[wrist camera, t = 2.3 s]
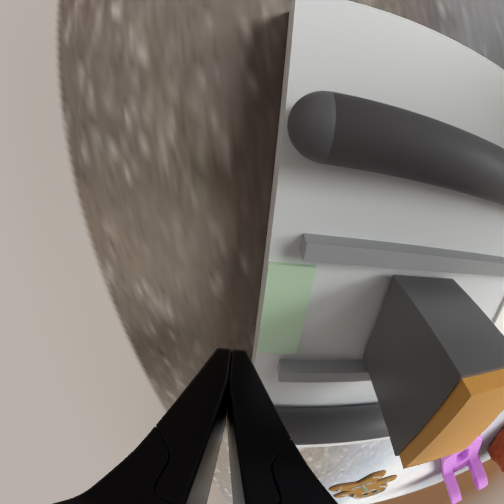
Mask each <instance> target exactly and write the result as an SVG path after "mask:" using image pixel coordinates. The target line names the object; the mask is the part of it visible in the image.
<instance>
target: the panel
mask: <svg viewBox="0 0 504 504" xmlns="http://www.w3.org/2000/svg"><path fill="white" fill-rule="evenodd" d="M393 275H404V276H419V277H434V278H450V279H453V280H454V281H455V282H456V283H457V284H458V285H459V286H460V287H461V288H462V289H463V290H464V291H465V292H466V293H467V294H468V295H469V296H470V297H471V299H472V300H473V301H474V302H475V303H476V304H477V305H478V306H479V307H480V309H481V310H482V311H483V312H484V313H485V314H486V315H487V317H488V318H489V319H490V320H491V321H492V322H493V324H494V325H495V326H496V327H497V328H498V330H499V331H500V332H501V333H502V334H504V69H502V68H501V67H499V66H498V65H496V64H495V63H493V62H492V61H490V60H488V59H487V58H485V57H484V56H482V55H480V54H478V53H477V52H475V51H473V50H471V49H470V48H468V47H466V46H464V45H462V44H461V43H459V42H457V41H455V40H453V39H451V38H449V37H447V36H445V35H443V34H440V33H438V32H436V31H434V30H432V29H430V28H427V27H425V26H423V25H420V24H418V23H415V22H413V21H410V20H408V19H405V18H403V17H400V16H397V15H394V14H391V13H388V12H385V11H382V10H379V9H376V8H373V7H370V6H366V5H363V4H359V3H355V2H352V1H348V0H293V1H292V5H291V8H290V11H289V22H288V33H287V44H286V55H285V66H284V76H283V87H282V97H281V107H280V117H279V127H278V137H277V146H276V156H275V165H274V175H273V184H272V193H271V202H270V211H269V220H268V229H267V238H266V246H265V255H264V264H263V272H262V281H261V289H260V297H259V305H258V314H257V322H256V330H255V338H254V346H253V354H252V363H253V365H254V367H255V369H256V371H257V373H258V375H259V377H260V379H261V381H262V383H263V385H264V387H265V389H266V391H267V392H268V394H269V396H270V398H271V400H272V402H273V404H274V406H275V408H276V410H277V412H278V414H279V416H280V417H281V419H282V421H283V423H284V425H285V427H286V429H287V431H288V432H289V434H290V436H291V440H293V441H294V443H295V445H296V447H297V448H303V447H324V446H337V445H348V444H357V443H365V442H373V441H379V440H386V439H390V436H389V433H388V430H387V427H386V424H385V420H384V417H383V414H382V411H381V408H380V405H379V402H378V399H377V396H376V393H375V390H374V388H373V385H372V382H371V379H370V376H369V373H368V371H367V368H366V365H365V362H364V360H363V357H362V356H363V354H364V351H365V349H366V347H367V344H368V342H369V339H370V337H371V334H372V332H373V329H374V327H375V324H376V322H377V319H378V316H379V314H380V311H381V308H382V306H383V303H384V300H385V297H386V294H387V291H388V289H389V286H390V283H391V280H392V276H393Z"/></svg>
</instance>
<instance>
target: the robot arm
mask: <svg viewBox="0 0 504 504" xmlns="http://www.w3.org/2000/svg"><path fill="white" fill-rule="evenodd" d="M227 407H228V409H227ZM226 417H227V429H228V444H229V458H230V471H231V484H232V495H233V504H338V503H337V502H336V501H335V500H334V498H333V497H332V496H331V495H330V494H329V492H328V491H327V490H326V489H325V487H324V486H323V485H322V484H321V483H320V481H319V480H318V479H317V477H316V476H315V475H314V473H313V472H312V471H311V469H310V468H309V466H308V465H307V463H306V462H305V460H304V459H303V457H302V455H301V454H300V452H299V450H298V449H297V447H296V445H295V443H294V441H293V440H291V436H290V434H289V432H288V431H287V429H286V427H285V425H284V423H283V421H282V419H281V417H280V416H279V414H278V412H277V410H276V408H275V406H274V404H273V402H272V400H271V398H270V396H269V394H268V392H267V391H266V389H265V387H264V385H263V383H262V381H261V379H260V377H259V375H258V373H257V371H256V369H255V367H254V365H253V363H252V361H251V359H250V357H249V355H248V353H247V351H245V350H236V349H234V350H232V351H231V349H225V348H218V349H216V351H215V352H214V353H213V354H212V356H211V357H210V358H209V360H208V361H207V362H206V363H205V365H204V366H203V367H202V369H201V370H200V371H199V372H198V374H197V375H196V376H195V377H194V379H193V380H192V381H191V383H190V384H189V385H188V386H187V388H186V389H185V390H184V391H183V393H182V394H181V395H180V396H179V398H178V399H177V400H176V401H175V403H174V404H173V405H172V406H171V408H170V409H169V410H168V411H167V412H166V414H165V415H164V416H163V417H162V419H161V420H160V421H159V422H158V424H157V425H156V427H154V428H153V429H152V431H151V432H150V433H149V434H148V436H147V437H146V438H145V439H144V440H143V441H142V442H141V443H140V445H139V446H138V447H137V448H136V449H135V450H134V451H133V452H132V453H131V454H130V455H128V457H126V458H125V459H124V460H123V461H122V462H121V463H120V464H119V465H118V466H116V467H115V468H114V469H113V470H112V471H111V472H109V473H108V474H107V475H106V476H105V477H104V478H102V479H101V480H100V481H99V482H97V483H96V484H95V485H94V486H93V487H91V488H90V489H89V490H87V491H86V492H84V493H82V494H81V495H79V496H76V497H74V498H71V499H68V500H65V501H61V502H57V503H54V504H207V500H208V496H209V492H210V487H211V483H212V479H213V475H214V471H215V466H216V462H217V458H218V453H219V449H220V445H221V440H222V436H223V432H224V427H225V423H226Z"/></svg>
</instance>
